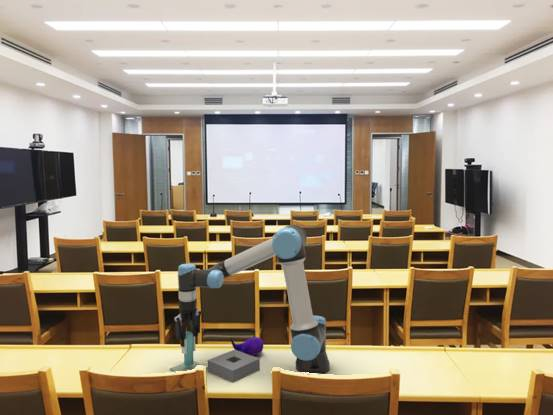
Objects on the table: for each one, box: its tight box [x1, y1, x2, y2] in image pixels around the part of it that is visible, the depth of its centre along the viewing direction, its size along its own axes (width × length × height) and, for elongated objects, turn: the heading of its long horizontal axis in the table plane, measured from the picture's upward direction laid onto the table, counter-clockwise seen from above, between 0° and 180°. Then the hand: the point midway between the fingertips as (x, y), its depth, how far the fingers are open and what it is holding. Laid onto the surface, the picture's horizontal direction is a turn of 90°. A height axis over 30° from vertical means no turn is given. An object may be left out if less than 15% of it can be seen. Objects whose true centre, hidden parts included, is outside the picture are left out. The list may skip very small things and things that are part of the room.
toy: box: [230, 336, 264, 357], centre depth 222 cm, size 9×10×15 cm
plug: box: [183, 331, 195, 366], centre depth 206 cm, size 4×4×14 cm
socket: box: [207, 349, 261, 383], centre depth 205 cm, size 16×16×5 cm
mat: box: [169, 360, 208, 372], centre depth 207 cm, size 12×12×1 cm
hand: (188, 351), depth 206 cm, fingers closed on plug, 4 cm apart
